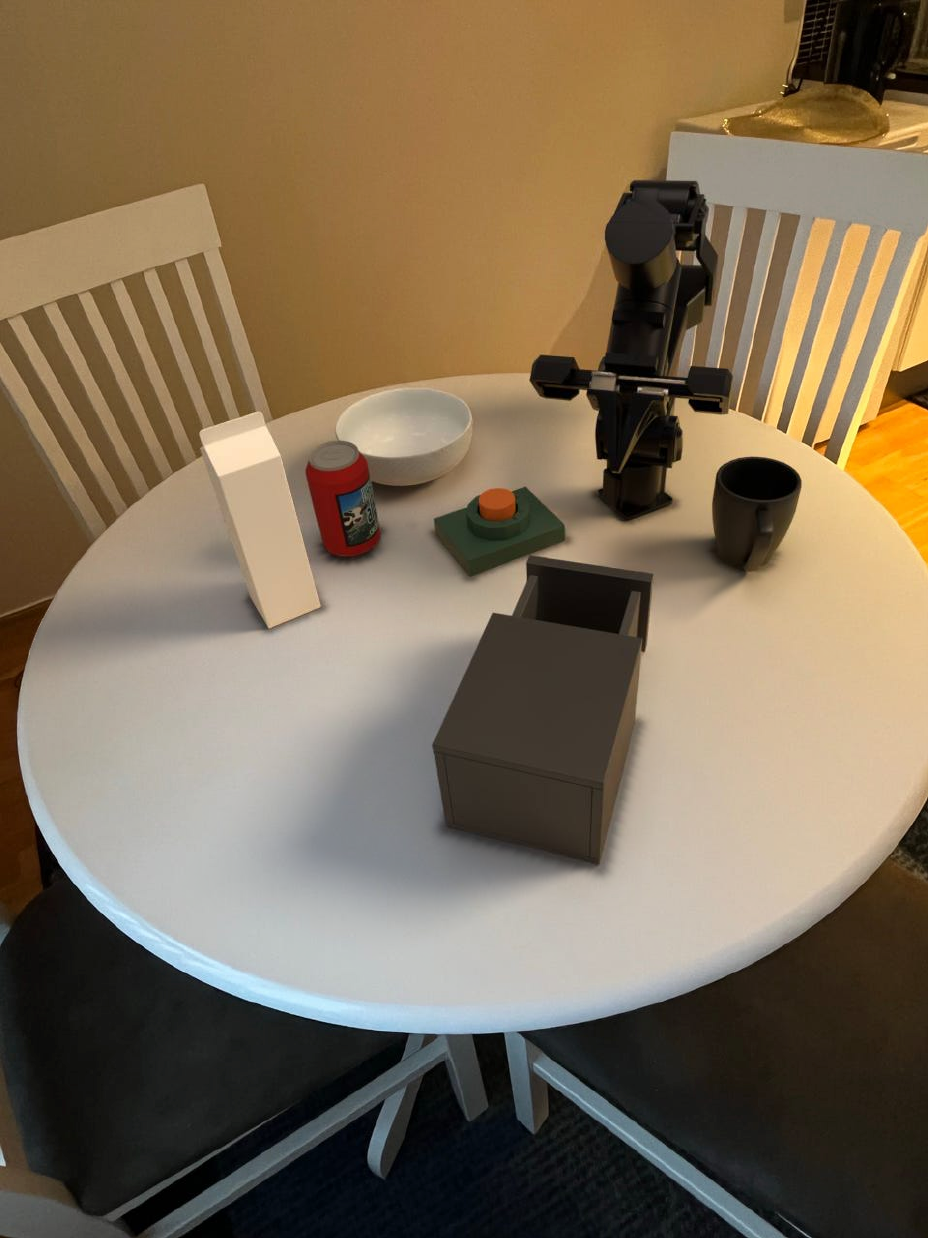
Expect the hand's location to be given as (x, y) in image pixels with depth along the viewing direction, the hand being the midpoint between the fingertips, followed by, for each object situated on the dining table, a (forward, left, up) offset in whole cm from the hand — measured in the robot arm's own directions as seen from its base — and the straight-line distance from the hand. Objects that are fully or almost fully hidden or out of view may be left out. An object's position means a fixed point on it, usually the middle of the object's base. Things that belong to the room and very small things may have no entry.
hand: (615, 472), depth 80 cm
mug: (-13, +6, -13) cm, 19 cm away
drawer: (+11, +11, -12) cm, 19 cm away
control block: (+7, -12, -13) cm, 19 cm away
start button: (+7, -12, -9) cm, 17 cm away
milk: (+32, -14, -13) cm, 37 cm away
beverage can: (+22, -20, -13) cm, 32 cm away
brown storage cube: (+19, +19, -13) cm, 30 cm away
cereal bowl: (+10, -31, -13) cm, 35 cm away
